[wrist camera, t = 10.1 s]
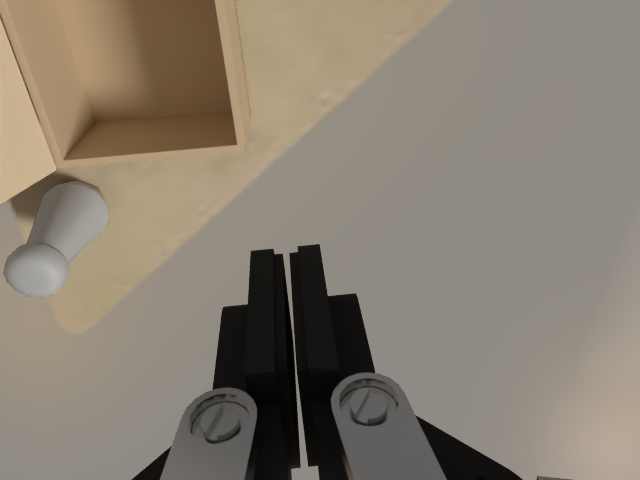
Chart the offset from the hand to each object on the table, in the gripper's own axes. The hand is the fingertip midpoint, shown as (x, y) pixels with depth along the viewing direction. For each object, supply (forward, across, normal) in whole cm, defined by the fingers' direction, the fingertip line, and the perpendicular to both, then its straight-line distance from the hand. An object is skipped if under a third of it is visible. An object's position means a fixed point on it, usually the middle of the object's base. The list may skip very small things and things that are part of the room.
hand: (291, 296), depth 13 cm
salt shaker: (+35, +20, +14) cm, 43 cm away
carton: (+35, +10, 0) cm, 36 cm away
